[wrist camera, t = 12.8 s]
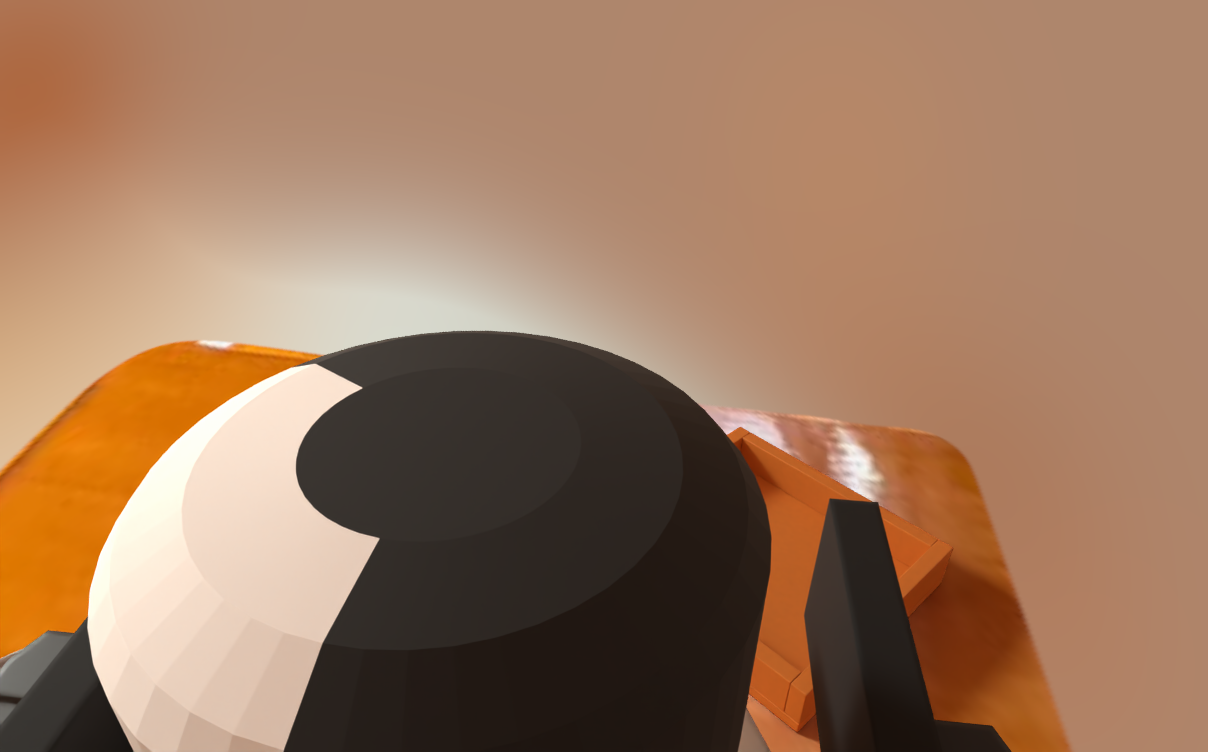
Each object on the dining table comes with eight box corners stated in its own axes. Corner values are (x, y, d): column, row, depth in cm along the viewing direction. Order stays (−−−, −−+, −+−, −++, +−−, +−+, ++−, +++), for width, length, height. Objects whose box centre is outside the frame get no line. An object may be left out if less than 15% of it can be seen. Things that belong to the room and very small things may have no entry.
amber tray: (941, 583, 42) (953, 547, 41) (797, 733, 35) (806, 695, 34) (735, 460, 51) (740, 426, 49) (583, 560, 43) (584, 524, 42)
